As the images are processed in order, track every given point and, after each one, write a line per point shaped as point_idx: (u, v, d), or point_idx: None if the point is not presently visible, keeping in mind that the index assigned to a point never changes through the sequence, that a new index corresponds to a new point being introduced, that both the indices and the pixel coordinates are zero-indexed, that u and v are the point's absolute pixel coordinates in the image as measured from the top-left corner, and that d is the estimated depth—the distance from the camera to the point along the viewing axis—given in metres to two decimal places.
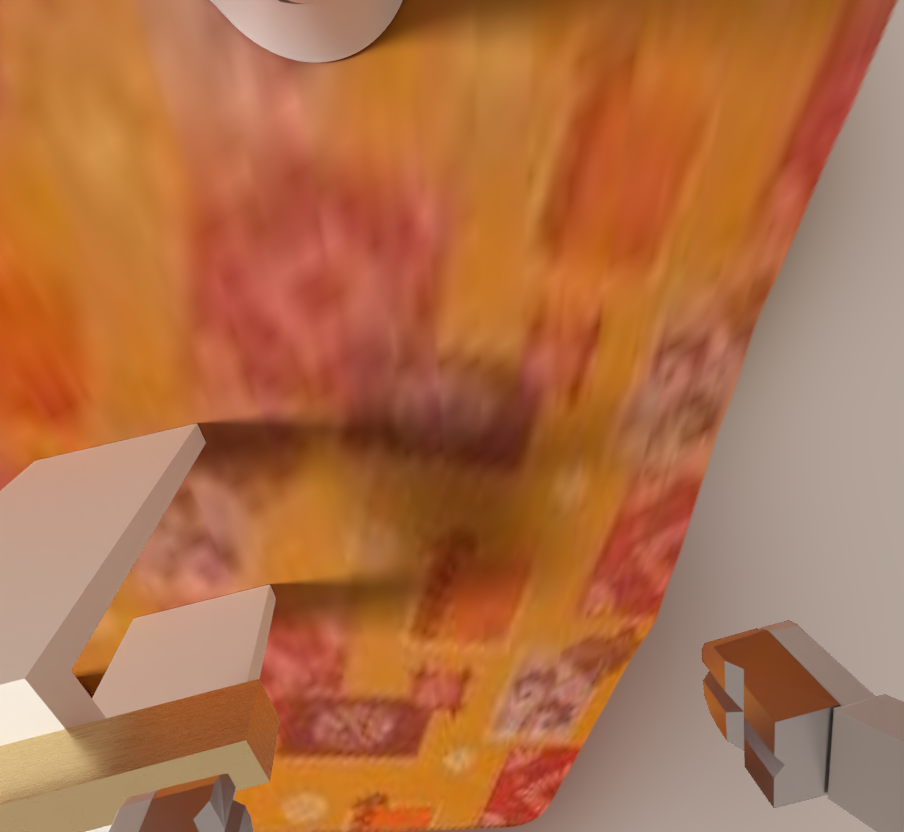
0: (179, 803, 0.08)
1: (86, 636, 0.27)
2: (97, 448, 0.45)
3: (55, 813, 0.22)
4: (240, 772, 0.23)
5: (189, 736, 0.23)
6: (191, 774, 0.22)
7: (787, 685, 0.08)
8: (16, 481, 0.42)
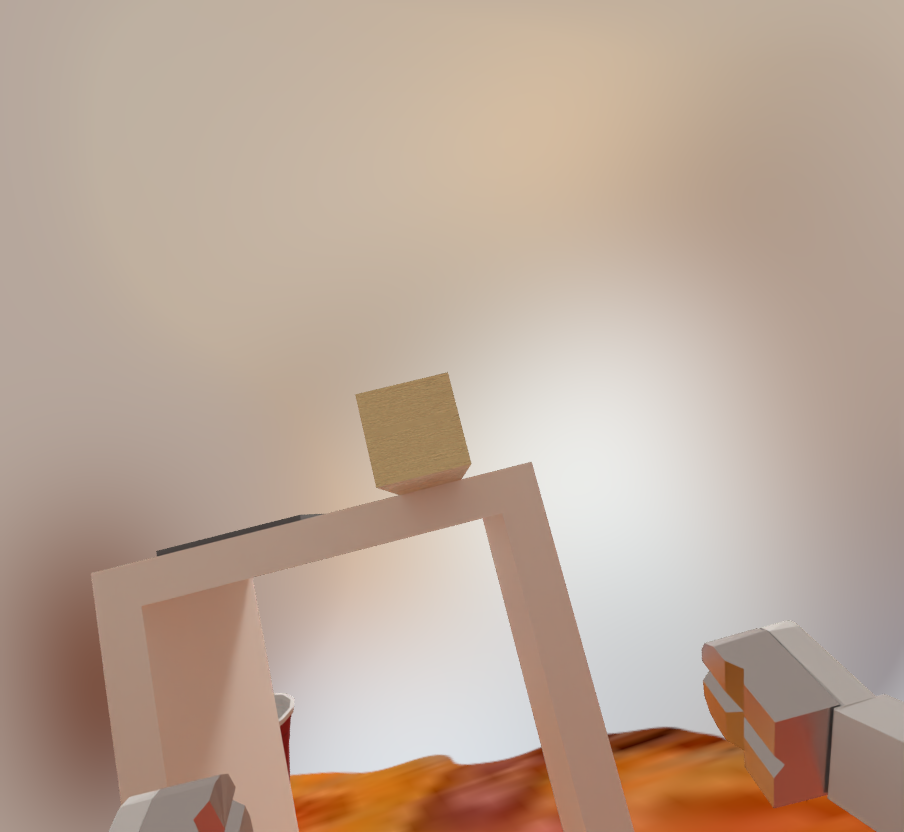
0: (179, 803, 0.08)
1: (517, 550, 0.25)
2: None
3: None
4: None
5: None
6: None
7: (787, 686, 0.08)
8: None
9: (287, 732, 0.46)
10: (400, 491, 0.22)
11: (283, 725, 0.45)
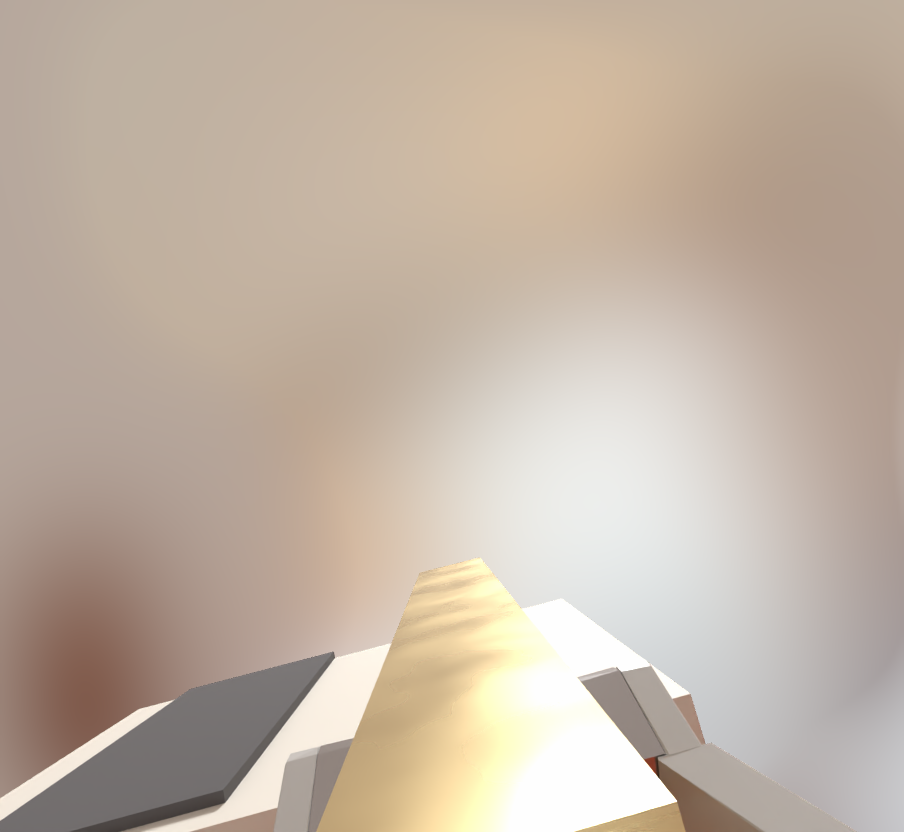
0: None
1: None
2: None
3: (462, 619, 0.12)
4: (434, 803, 0.05)
5: None
6: (490, 708, 0.07)
7: (622, 731, 0.07)
8: None
9: None
10: None
11: None
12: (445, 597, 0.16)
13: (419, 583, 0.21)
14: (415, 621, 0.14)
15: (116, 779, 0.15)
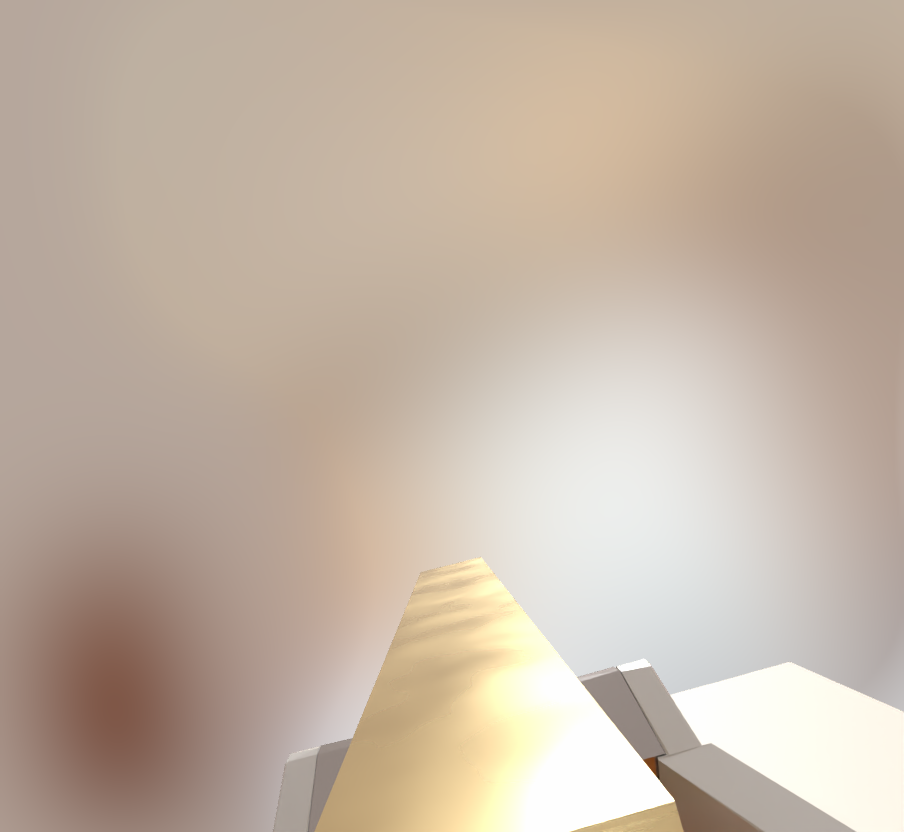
0: None
1: None
2: None
3: (462, 619, 0.12)
4: (433, 803, 0.05)
5: None
6: (489, 708, 0.07)
7: (621, 732, 0.07)
8: None
9: None
10: None
11: None
12: (446, 597, 0.16)
13: (420, 583, 0.21)
14: (415, 621, 0.14)
15: None
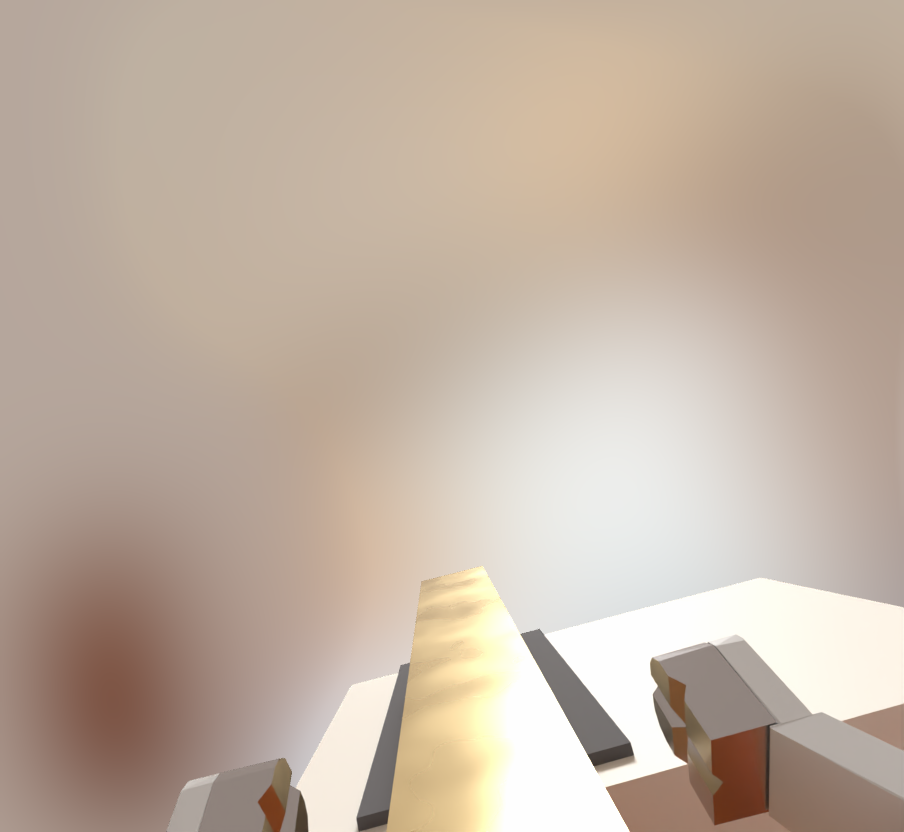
0: (241, 786, 0.08)
1: None
2: None
3: (475, 675, 0.12)
4: None
5: None
6: None
7: (726, 702, 0.07)
8: None
9: None
10: None
11: None
12: (453, 631, 0.16)
13: (423, 600, 0.21)
14: (425, 669, 0.13)
15: None
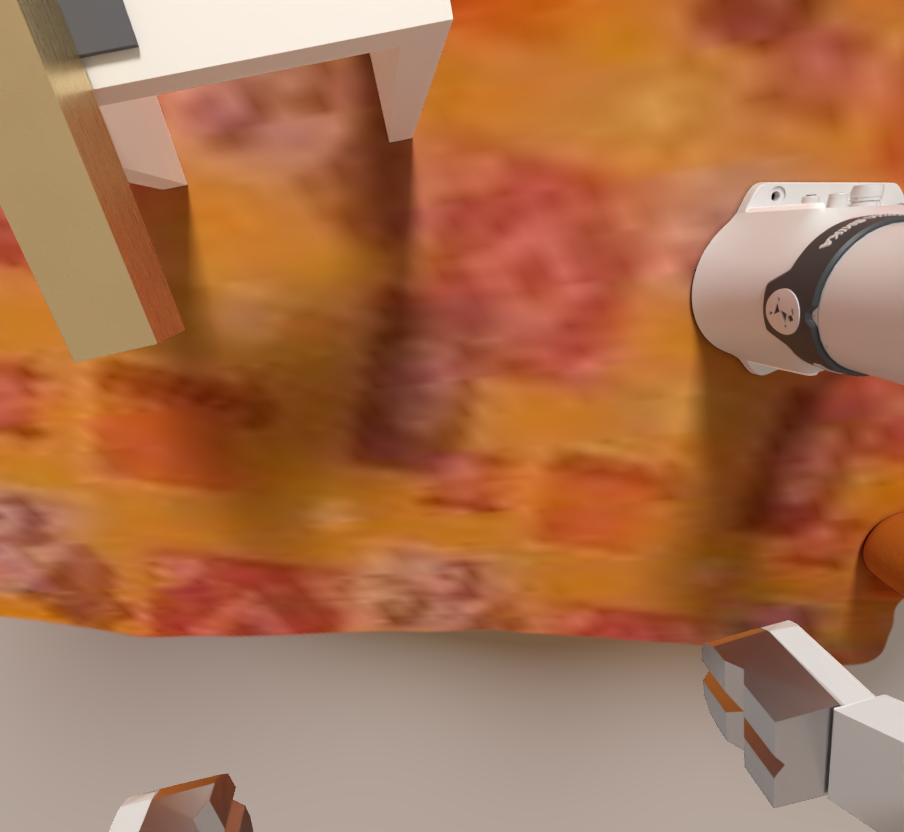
0: (179, 803, 0.08)
1: (403, 59, 0.24)
2: None
3: (3, 86, 0.16)
4: (94, 331, 0.19)
5: (138, 268, 0.19)
6: (90, 274, 0.18)
7: (787, 686, 0.08)
8: None
9: None
10: None
11: None
12: None
13: None
14: None
15: None
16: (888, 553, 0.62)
